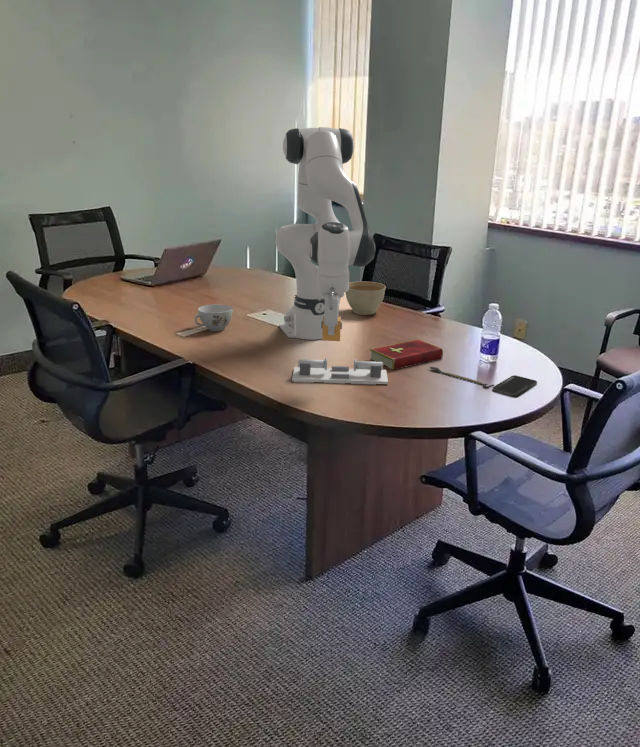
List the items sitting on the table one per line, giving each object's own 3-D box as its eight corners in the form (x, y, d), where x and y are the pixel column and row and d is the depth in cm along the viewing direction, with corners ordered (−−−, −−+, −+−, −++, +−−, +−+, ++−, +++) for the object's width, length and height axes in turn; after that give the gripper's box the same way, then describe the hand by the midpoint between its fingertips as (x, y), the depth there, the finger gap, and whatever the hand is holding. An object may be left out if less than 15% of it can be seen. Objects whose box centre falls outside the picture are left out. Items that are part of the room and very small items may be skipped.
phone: (491, 388, 191) (513, 374, 202) (490, 391, 191) (513, 378, 202) (517, 395, 186) (538, 381, 197) (516, 399, 187) (538, 384, 198)
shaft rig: (292, 381, 195) (292, 363, 193) (294, 370, 204) (294, 352, 202) (387, 384, 194) (389, 366, 192) (386, 372, 203) (387, 354, 201)
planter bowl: (335, 311, 269) (336, 284, 265) (364, 305, 279) (365, 279, 275) (364, 320, 258) (365, 292, 254) (392, 313, 268) (394, 286, 264)
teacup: (222, 322, 251) (221, 301, 248) (240, 330, 242) (239, 308, 239) (186, 329, 242) (185, 307, 239) (203, 337, 233) (202, 315, 230)
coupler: (320, 340, 187) (321, 320, 185) (321, 335, 191) (321, 315, 189) (341, 341, 187) (342, 320, 185) (341, 336, 191) (342, 316, 189)
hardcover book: (442, 360, 217) (443, 347, 216) (392, 371, 206) (393, 358, 204) (417, 349, 226) (418, 338, 225) (369, 360, 215) (369, 348, 214)
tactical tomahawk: (498, 386, 197) (499, 383, 197) (486, 390, 193) (487, 386, 192) (439, 367, 211) (440, 364, 211) (427, 370, 206) (428, 367, 206)
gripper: (343, 294, 173) (341, 344, 179) (344, 275, 192) (343, 321, 198) (319, 293, 174) (318, 343, 179) (323, 274, 193) (321, 320, 198)
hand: (331, 331), depth 188 cm, fingers closed on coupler, 4 cm apart
